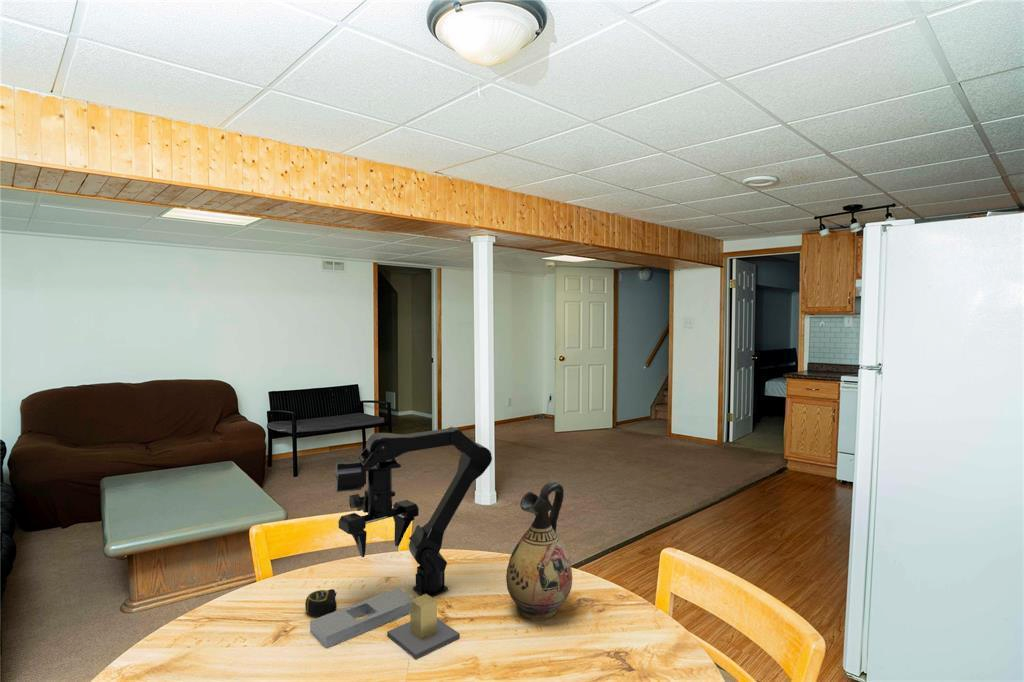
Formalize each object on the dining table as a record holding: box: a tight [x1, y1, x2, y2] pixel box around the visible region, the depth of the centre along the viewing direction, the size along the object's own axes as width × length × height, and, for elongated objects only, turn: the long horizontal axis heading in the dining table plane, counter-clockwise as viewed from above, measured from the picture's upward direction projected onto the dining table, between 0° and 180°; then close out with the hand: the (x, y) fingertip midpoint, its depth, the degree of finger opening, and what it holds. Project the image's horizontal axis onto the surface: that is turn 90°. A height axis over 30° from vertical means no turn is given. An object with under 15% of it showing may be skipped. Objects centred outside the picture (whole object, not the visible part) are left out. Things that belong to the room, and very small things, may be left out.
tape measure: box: [304, 588, 338, 617], centre depth 128 cm, size 7×7×4 cm
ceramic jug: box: [505, 481, 573, 621], centre depth 129 cm, size 17×15×30 cm
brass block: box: [409, 594, 438, 640], centre depth 117 cm, size 4×4×7 cm
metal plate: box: [309, 587, 415, 649], centre depth 124 cm, size 22×8×2 cm, turn 133°
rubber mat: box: [386, 617, 461, 660], centre depth 118 cm, size 11×11×1 cm
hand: (380, 551), depth 132 cm, fingers open, 9 cm apart
